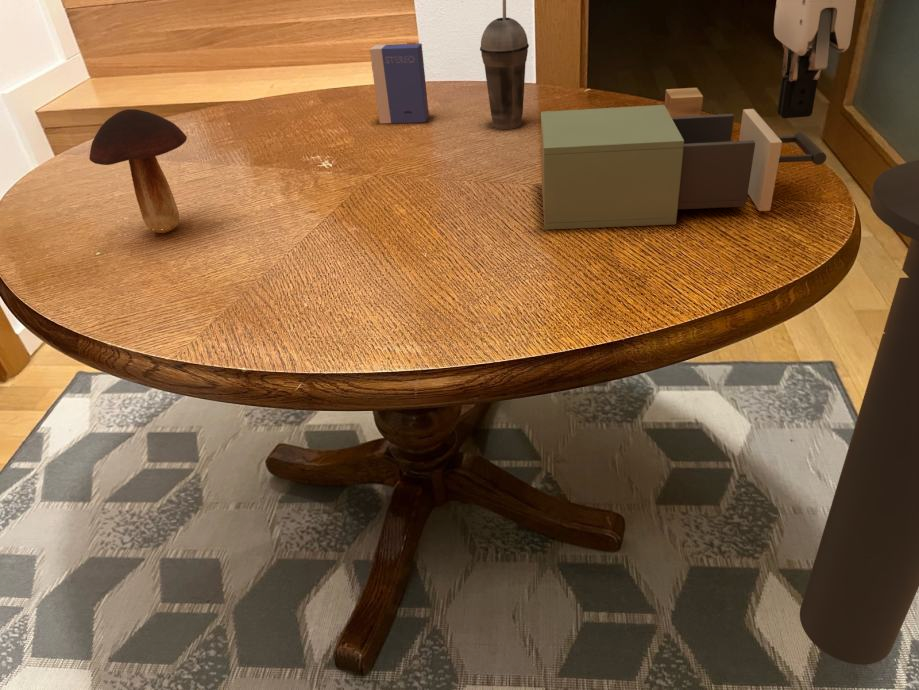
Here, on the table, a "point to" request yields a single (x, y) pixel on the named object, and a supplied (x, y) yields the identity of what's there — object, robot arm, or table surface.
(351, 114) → the table surface
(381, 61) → the walkman
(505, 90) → the beverage cup
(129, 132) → the decorative mushroom
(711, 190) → the drawer
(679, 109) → the block
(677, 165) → the cabinet
